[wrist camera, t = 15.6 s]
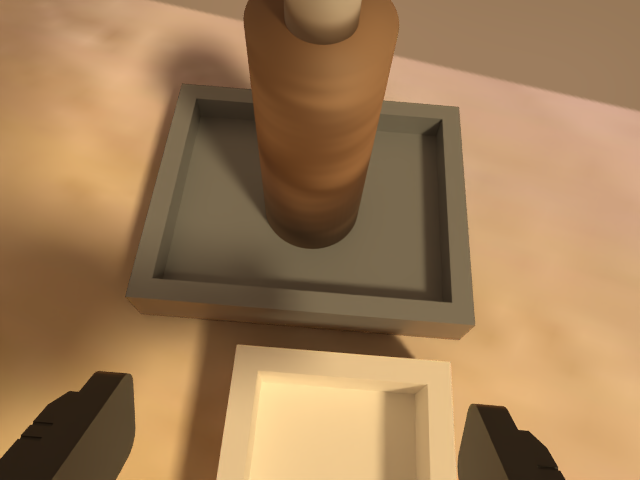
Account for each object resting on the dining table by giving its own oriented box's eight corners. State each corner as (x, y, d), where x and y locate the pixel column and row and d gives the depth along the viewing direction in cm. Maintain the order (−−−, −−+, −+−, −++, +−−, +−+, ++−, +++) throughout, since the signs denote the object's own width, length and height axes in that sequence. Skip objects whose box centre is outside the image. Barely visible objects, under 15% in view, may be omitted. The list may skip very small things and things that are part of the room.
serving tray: (447, 134, 30) (458, 106, 28) (459, 339, 24) (475, 325, 22) (190, 113, 30) (182, 83, 28) (141, 313, 24) (124, 296, 22)
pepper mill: (359, 173, 28) (407, -67, 16) (356, 252, 25) (408, 44, 13) (271, 165, 27) (251, -80, 16) (259, 244, 25) (226, 29, 13)
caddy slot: (430, 377, 24) (450, 361, 20) (436, 576, 20) (462, 594, 17) (244, 363, 23) (236, 344, 20) (217, 559, 20) (202, 573, 17)
